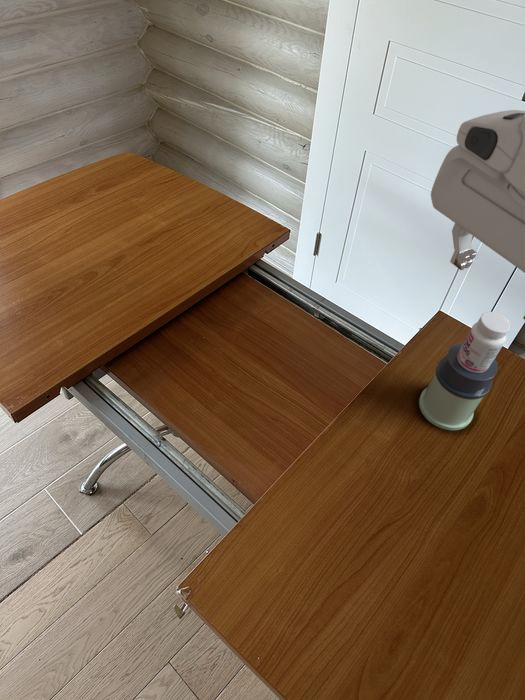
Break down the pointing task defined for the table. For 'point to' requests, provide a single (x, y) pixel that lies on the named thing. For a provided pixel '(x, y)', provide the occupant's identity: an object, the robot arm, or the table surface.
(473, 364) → the pill bottle
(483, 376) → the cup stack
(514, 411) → the table surface
